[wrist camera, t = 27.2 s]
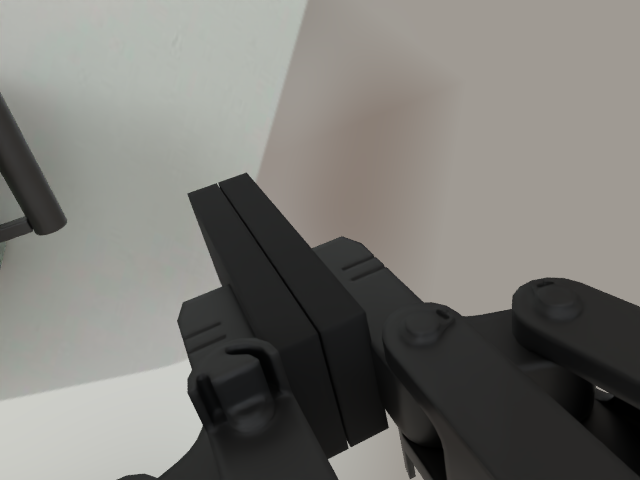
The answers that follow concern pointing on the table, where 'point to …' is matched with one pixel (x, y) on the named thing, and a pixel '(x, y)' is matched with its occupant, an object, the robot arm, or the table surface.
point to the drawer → (25, 185)
